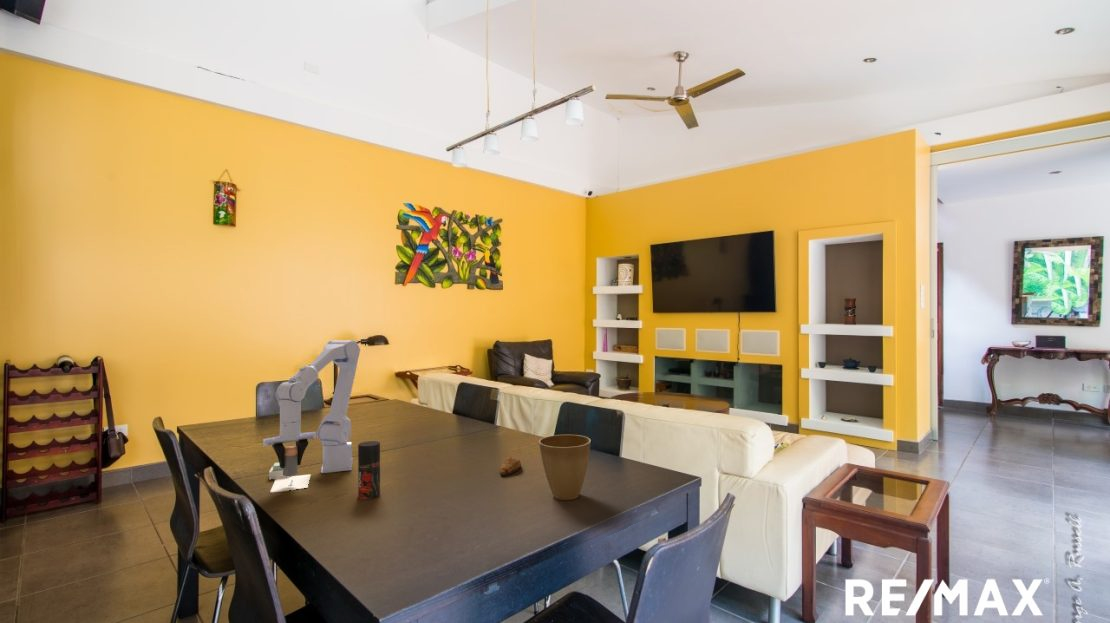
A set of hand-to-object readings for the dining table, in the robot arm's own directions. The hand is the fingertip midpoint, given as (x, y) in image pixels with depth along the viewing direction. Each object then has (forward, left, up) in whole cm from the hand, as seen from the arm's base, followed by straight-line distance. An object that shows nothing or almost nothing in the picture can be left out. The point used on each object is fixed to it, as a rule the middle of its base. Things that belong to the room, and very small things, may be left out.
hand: (290, 465), depth 154 cm
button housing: (+4, -13, -6) cm, 15 cm away
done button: (+4, -13, -5) cm, 14 cm away
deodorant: (-22, +18, -6) cm, 29 cm away
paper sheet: (0, -3, -6) cm, 7 cm away
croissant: (-67, +12, -7) cm, 68 cm away
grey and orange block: (0, 0, -2) cm, 2 cm away
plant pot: (-74, +41, -6) cm, 85 cm away
